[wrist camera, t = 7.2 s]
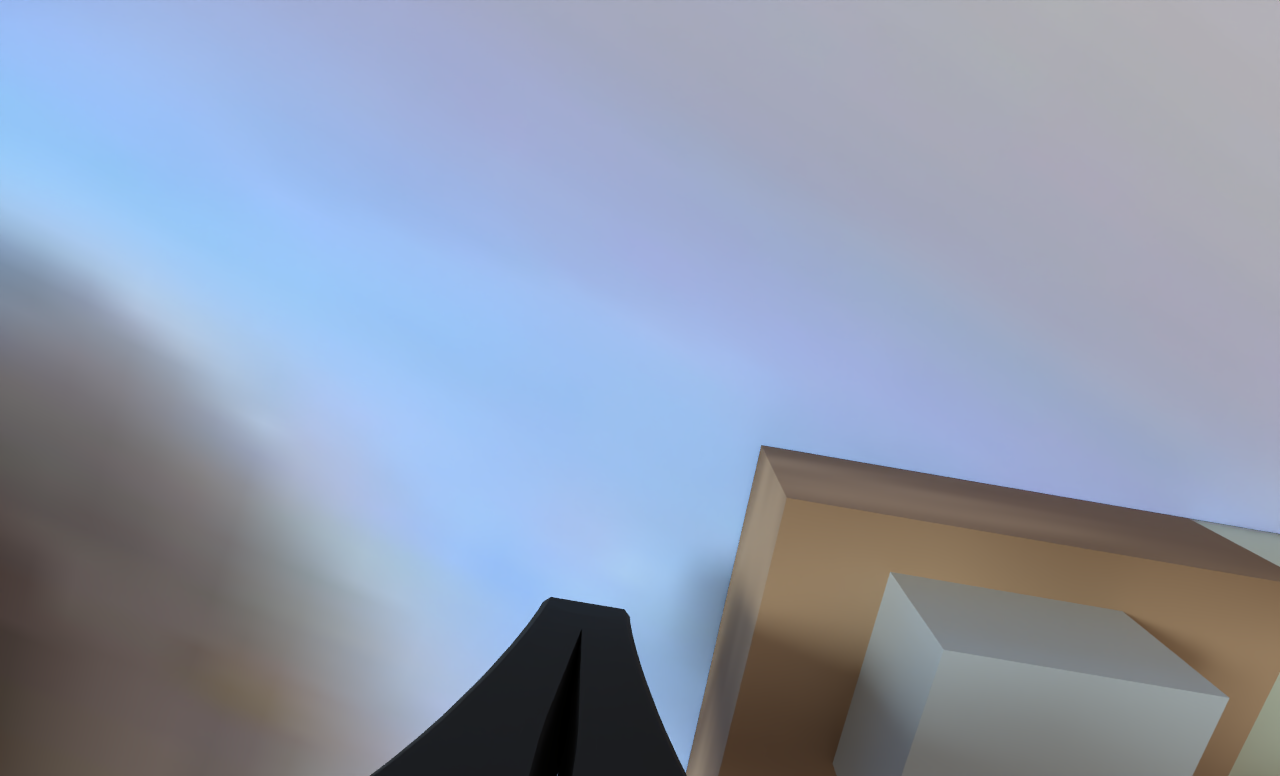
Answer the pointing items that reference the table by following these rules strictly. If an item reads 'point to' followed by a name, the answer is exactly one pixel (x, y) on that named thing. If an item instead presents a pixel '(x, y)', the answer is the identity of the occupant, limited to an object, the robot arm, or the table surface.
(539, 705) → the robot arm
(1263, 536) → the tray
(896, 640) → the slate tile
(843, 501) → the walnut board
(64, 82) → the table surface
